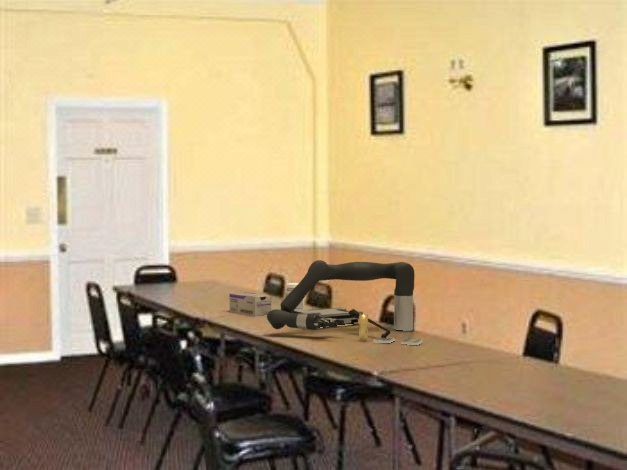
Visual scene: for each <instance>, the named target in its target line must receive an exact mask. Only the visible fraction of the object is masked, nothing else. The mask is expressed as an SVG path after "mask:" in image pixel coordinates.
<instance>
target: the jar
mask: <svg viewBox="0 0 627 470" xmlns="http://www.w3.org/2000/svg"><path fill="white" fill-rule="evenodd" d="M299 283H300V282H288V283H285V287H286V289H285V292H284V299H285V298H286V296H287V295H288V294H289V293H290V292H291V291H292V290H293V289H294V288H295V287H296V286H297V285H298V284H299ZM299 308H300V309H304V299H303V300H302V301H301V303H300V304H299V305H298V306H297V307H296V308H295V309H299Z"/></svg>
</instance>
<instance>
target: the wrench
mask: <svg viewBox="0 0 627 470" xmlns="http://www.w3.org/2000/svg"><path fill="white" fill-rule="evenodd" d="M348 311H349V314H350V315H352V316H353V317H354V318H358V320H359V315H360V314H359V312H358V311H359V310H356V309H354V308H353V309H350V310H348ZM368 323H370V324H371V325H374V326H376V327H377V328H380V329H381V330H382V331H385V332H384V333H382V334H381V336H380V337H383V338H388V336H389V335H390V334H391V330H390V329H388V328H386V327H384V326H383V325H381V324H379V323H377V322H375V321H373V320H371V319H370V318H368Z"/></svg>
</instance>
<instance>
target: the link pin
mask: <svg viewBox="0 0 627 470" xmlns="http://www.w3.org/2000/svg"><path fill="white" fill-rule="evenodd" d="M368 319H369V314H364V313H363V314H360V315H359V319H358V341H359V340H360V341H367V340H368V341H369V322H368ZM360 341H359V342H360ZM368 341H367V342H368Z"/></svg>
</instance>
